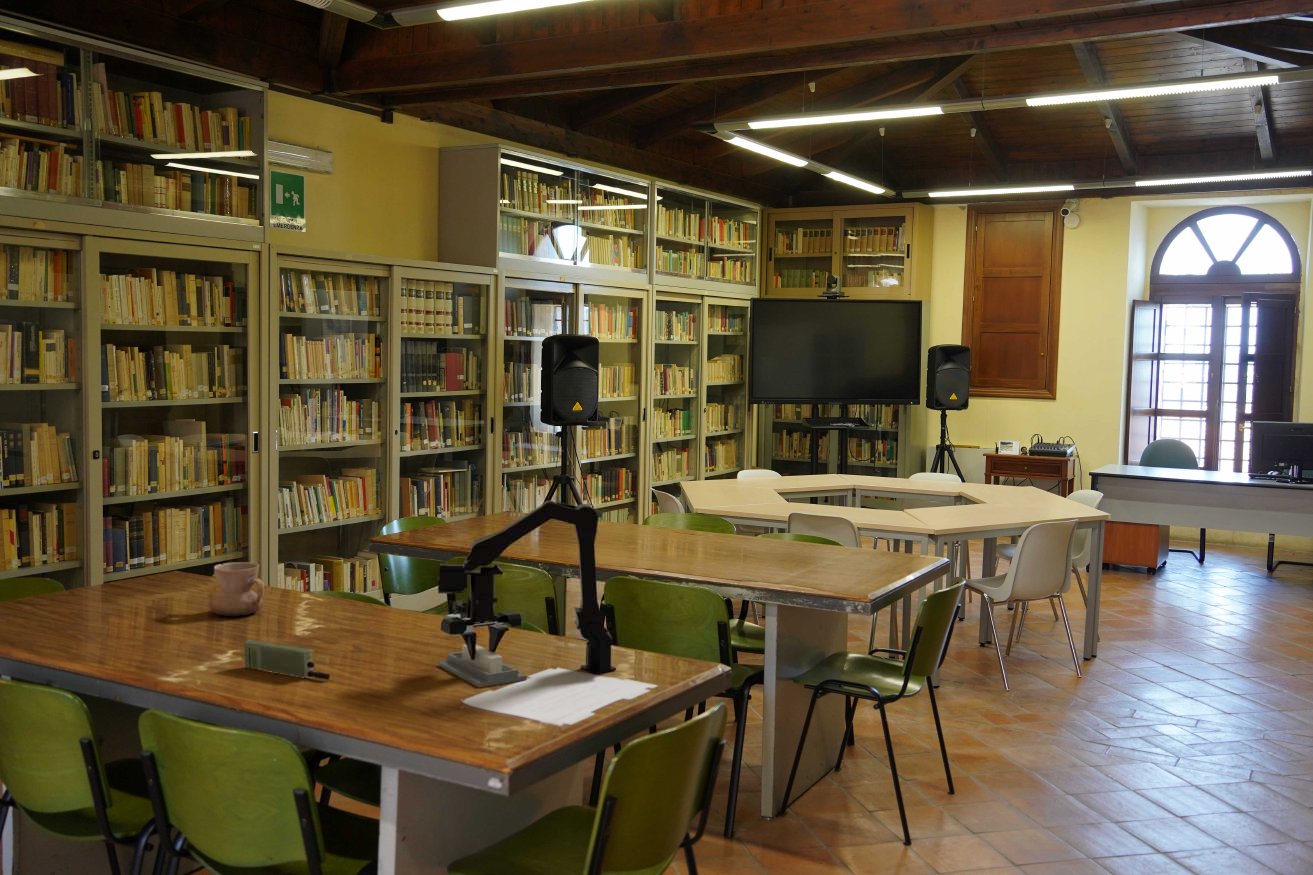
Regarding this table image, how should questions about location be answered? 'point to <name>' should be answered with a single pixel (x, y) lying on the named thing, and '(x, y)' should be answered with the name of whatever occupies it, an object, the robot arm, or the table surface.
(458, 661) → the grey rectangular tray
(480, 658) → the white long block
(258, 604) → the pink mug
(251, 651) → the handheld radio
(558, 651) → the table surface
